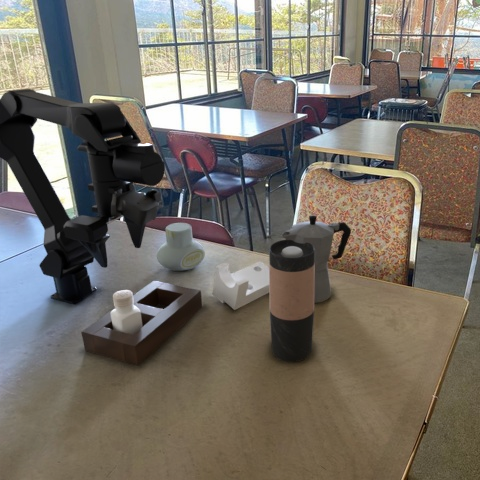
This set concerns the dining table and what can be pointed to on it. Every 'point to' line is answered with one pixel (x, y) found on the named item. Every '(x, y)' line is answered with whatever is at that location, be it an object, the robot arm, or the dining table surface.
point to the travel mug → (291, 299)
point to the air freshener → (180, 248)
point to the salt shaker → (125, 313)
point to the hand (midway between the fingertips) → (121, 257)
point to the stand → (144, 323)
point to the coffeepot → (320, 249)
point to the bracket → (240, 284)
